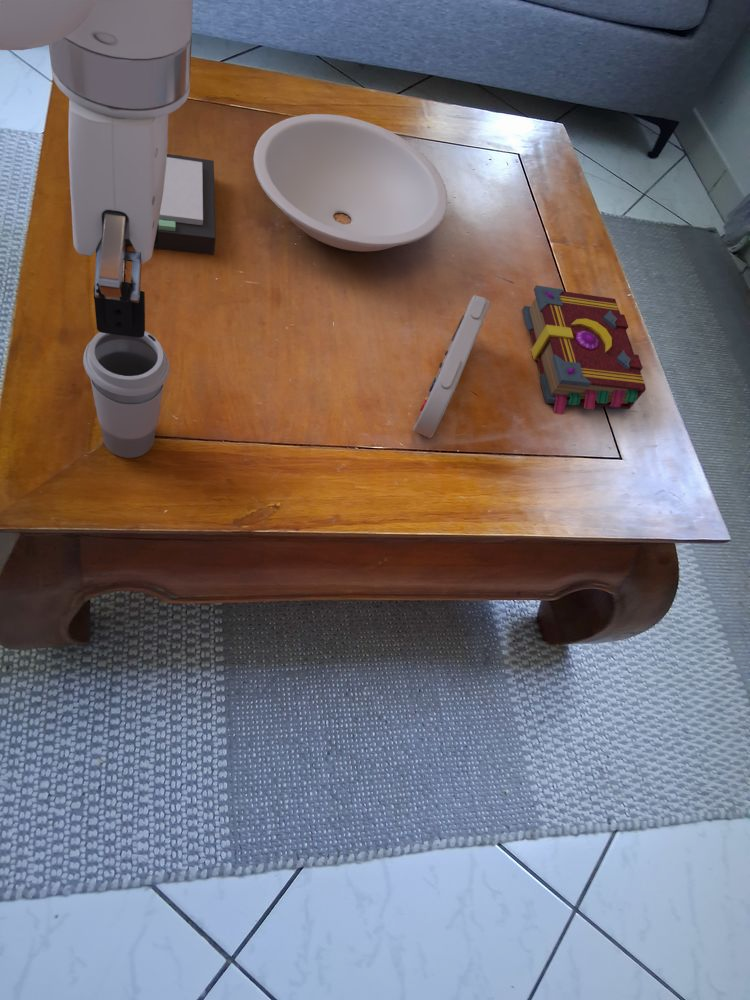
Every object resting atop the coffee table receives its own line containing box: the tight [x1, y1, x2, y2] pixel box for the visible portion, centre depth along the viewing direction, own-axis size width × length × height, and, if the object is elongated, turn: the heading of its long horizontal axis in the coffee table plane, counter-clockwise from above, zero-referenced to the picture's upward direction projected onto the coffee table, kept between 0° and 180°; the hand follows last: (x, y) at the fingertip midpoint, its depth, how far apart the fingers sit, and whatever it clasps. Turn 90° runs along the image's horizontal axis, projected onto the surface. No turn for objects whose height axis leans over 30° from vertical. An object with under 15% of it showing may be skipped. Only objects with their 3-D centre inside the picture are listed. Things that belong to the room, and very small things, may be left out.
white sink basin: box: [252, 113, 448, 253], centre depth 95 cm, size 24×24×7 cm
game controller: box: [413, 294, 491, 439], centre depth 83 cm, size 20×2×8 cm, turn 160°
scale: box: [125, 153, 216, 256], centre depth 88 cm, size 14×14×3 cm
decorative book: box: [522, 285, 647, 415], centre depth 92 cm, size 11×16×5 cm
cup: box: [82, 330, 171, 459], centre depth 67 cm, size 7×7×12 cm
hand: (129, 283), depth 57 cm, fingers open, 9 cm apart
